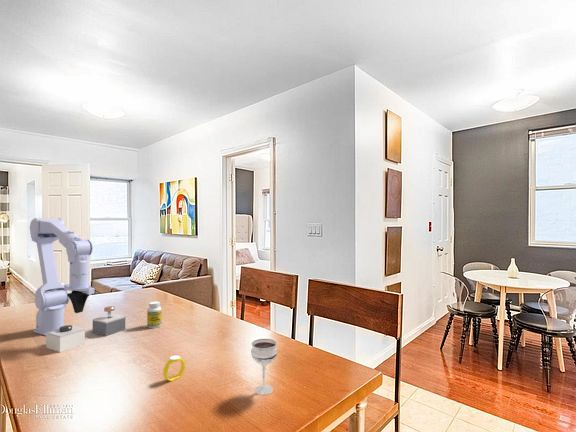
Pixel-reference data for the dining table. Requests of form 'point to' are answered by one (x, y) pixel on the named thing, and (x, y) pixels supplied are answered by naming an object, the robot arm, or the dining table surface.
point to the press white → (65, 339)
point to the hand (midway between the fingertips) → (78, 312)
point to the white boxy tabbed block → (108, 324)
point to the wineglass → (264, 360)
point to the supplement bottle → (154, 315)
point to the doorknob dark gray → (65, 328)
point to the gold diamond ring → (172, 359)
